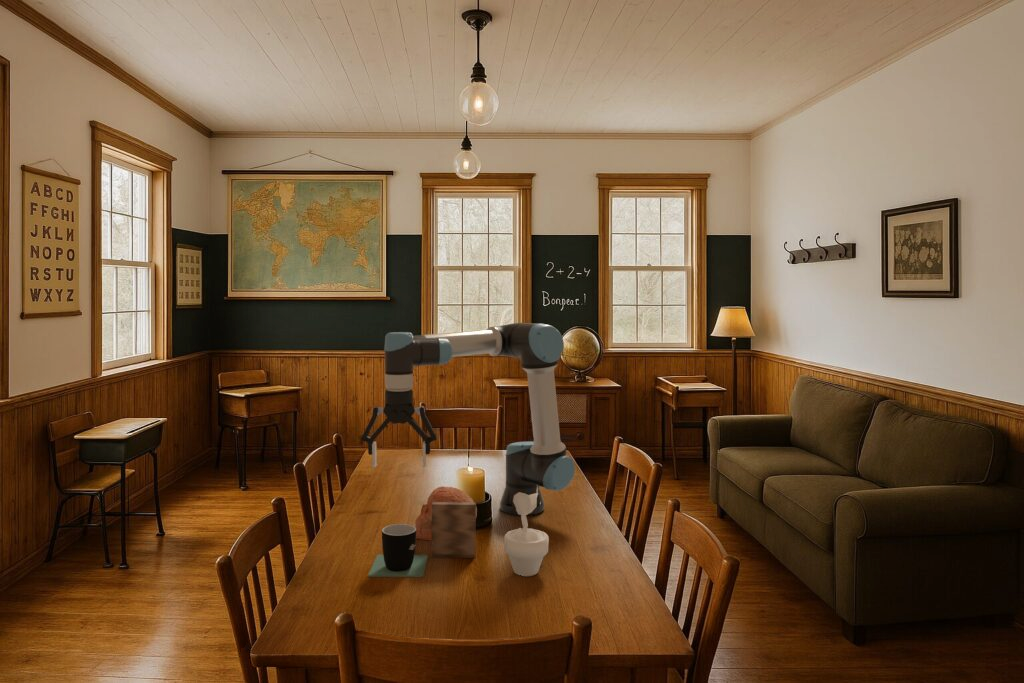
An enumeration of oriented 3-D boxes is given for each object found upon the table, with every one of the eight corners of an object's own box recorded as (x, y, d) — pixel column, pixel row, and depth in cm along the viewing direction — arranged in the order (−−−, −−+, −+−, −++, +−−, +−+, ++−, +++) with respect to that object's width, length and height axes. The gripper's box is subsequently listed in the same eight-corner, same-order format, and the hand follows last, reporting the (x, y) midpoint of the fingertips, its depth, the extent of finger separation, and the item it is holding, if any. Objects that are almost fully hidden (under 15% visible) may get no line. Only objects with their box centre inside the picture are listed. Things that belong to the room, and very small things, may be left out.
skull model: (430, 524, 212) (430, 477, 211) (484, 533, 205) (485, 484, 204) (405, 540, 197) (405, 489, 197) (463, 549, 191) (463, 497, 190)
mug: (412, 574, 172) (413, 535, 171) (378, 573, 172) (378, 534, 172) (420, 556, 184) (420, 520, 183) (388, 555, 184) (388, 519, 184)
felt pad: (428, 556, 185) (428, 554, 185) (422, 577, 171) (422, 575, 171) (377, 555, 185) (377, 554, 185) (368, 576, 171) (368, 575, 171)
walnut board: (475, 551, 190) (476, 499, 189) (474, 558, 185) (475, 504, 184) (433, 550, 189) (433, 498, 188) (431, 557, 184) (432, 504, 183)
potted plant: (534, 585, 168) (536, 487, 166) (495, 574, 174) (497, 479, 172) (557, 568, 178) (559, 476, 177) (520, 559, 184) (522, 470, 183)
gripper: (445, 387, 186) (445, 462, 187) (355, 387, 184) (355, 462, 186) (444, 391, 178) (444, 469, 180) (350, 391, 177) (350, 470, 178)
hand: (399, 466), depth 183 cm, fingers open, 13 cm apart
